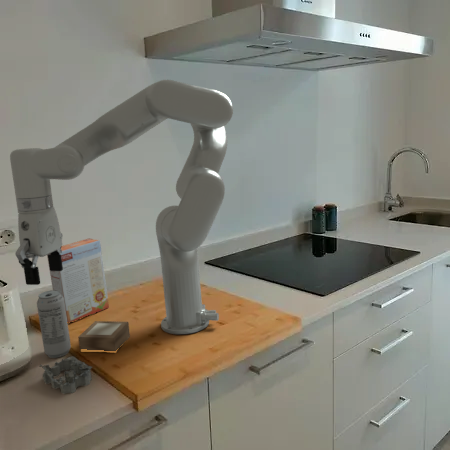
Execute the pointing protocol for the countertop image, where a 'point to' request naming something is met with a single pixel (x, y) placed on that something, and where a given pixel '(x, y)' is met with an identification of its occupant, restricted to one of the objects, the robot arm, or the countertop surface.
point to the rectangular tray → (104, 335)
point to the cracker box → (81, 279)
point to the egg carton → (67, 374)
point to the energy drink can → (53, 323)
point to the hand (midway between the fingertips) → (45, 277)
